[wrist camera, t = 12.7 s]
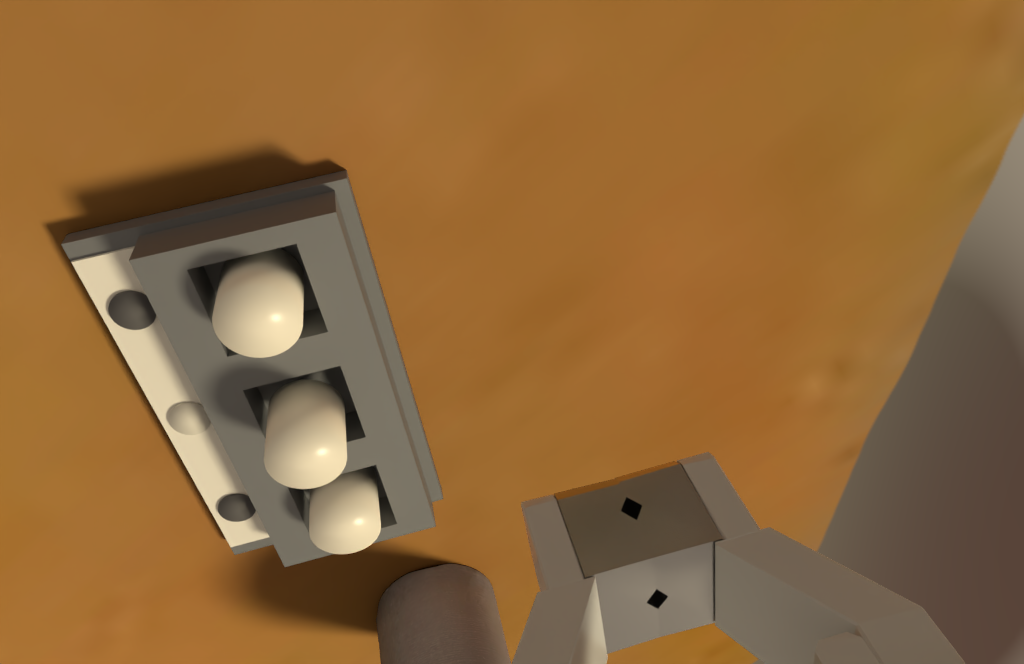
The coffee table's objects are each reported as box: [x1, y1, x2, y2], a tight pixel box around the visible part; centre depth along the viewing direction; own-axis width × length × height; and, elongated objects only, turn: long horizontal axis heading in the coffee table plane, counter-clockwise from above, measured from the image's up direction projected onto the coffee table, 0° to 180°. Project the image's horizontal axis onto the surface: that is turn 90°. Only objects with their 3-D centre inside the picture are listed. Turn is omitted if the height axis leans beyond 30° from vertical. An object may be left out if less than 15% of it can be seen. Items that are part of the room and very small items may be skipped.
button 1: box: [212, 248, 304, 358], centre depth 41 cm, size 4×4×4 cm
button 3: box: [309, 466, 381, 554], centre depth 50 cm, size 4×4×4 cm
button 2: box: [264, 379, 347, 489], centre depth 44 cm, size 4×4×4 cm
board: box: [61, 170, 443, 567], centre depth 47 cm, size 15×25×4 cm, turn 9°
